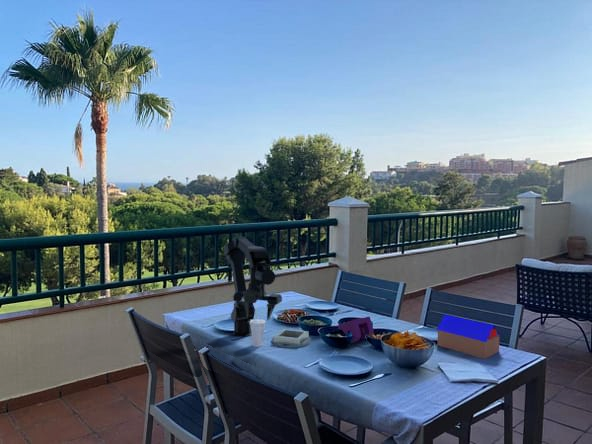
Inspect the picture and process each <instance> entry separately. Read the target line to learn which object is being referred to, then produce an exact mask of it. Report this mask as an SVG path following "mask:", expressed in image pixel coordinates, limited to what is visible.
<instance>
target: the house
mask: <svg viewBox="0 0 592 444" xmlns="http://www.w3.org/2000/svg"><path fill="white" fill-rule="evenodd" d="M436 330H437V343H436V344H437V346H438V347H441V348H445V349H448V350H452V351H456V352H459V353H463V354H466V355H469V356H474V357H475V358H480V359H483V360H486V359H488V358H490V357H491V356H494V355H495V354H497V353H499V352H500V336H501V333H500V332H499V331H498V329H497V327H496V326H495V325H494V324H491V323H485V322H482V321H481V322H480V321H475V320H472V319H468V318H464V317H463V318H462V317H459V316H454V315H450V314H446V313H445V314H444V315H443V317H442V319H441V321H440V323H439V325H438V326H437V328H436Z"/></svg>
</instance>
